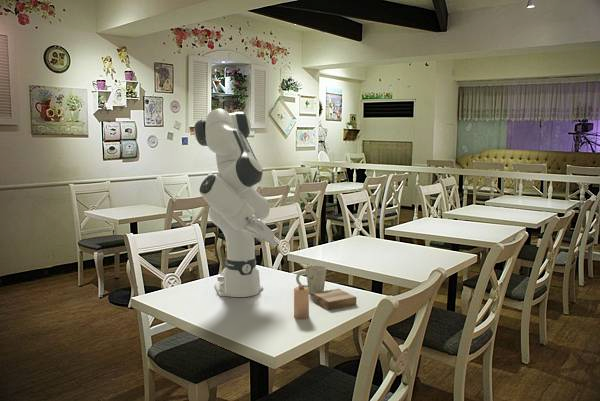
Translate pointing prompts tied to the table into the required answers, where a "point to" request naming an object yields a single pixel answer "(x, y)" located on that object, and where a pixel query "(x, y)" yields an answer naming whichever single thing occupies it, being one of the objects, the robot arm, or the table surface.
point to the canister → (301, 302)
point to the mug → (314, 278)
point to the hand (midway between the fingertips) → (269, 243)
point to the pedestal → (334, 299)
